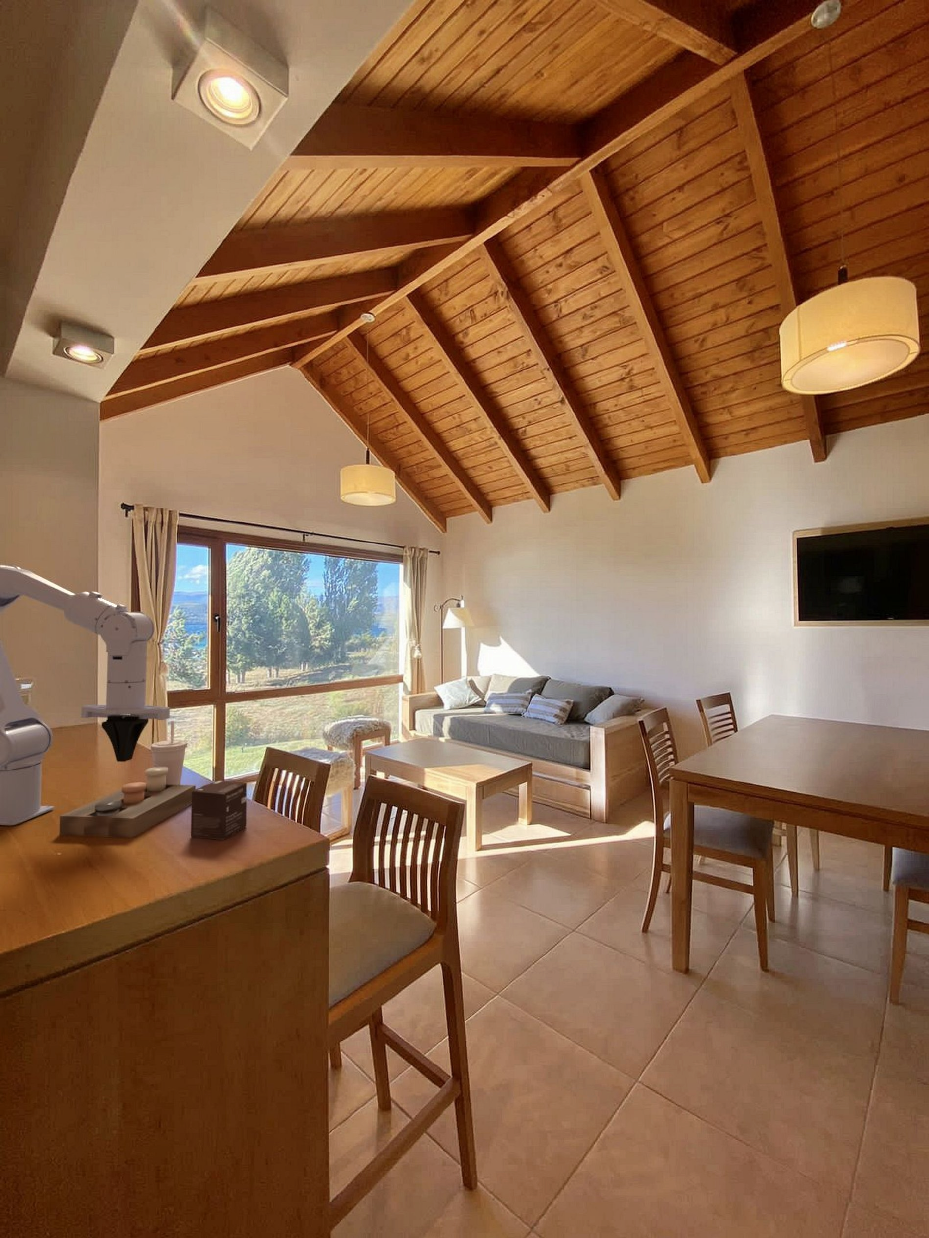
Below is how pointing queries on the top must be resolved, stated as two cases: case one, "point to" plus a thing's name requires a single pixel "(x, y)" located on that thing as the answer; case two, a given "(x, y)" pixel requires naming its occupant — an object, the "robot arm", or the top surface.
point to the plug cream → (156, 779)
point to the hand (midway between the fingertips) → (124, 760)
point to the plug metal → (108, 807)
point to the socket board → (127, 813)
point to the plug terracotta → (134, 792)
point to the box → (218, 809)
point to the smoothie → (170, 757)
